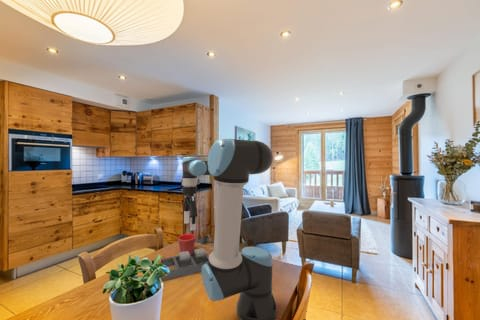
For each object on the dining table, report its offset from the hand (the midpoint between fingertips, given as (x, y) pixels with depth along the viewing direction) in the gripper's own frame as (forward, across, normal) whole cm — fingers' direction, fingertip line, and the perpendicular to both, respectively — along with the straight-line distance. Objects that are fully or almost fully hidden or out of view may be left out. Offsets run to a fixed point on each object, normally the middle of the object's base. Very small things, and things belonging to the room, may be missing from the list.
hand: (189, 226), depth 110 cm
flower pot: (+22, +22, -4) cm, 31 cm away
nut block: (+23, +3, +2) cm, 23 cm away
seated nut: (+23, +3, -6) cm, 24 cm away
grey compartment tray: (+23, +3, +2) cm, 23 cm away
